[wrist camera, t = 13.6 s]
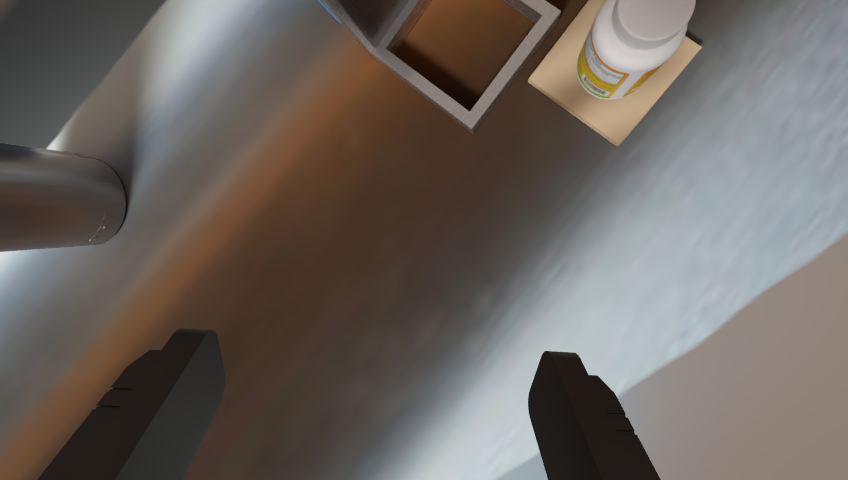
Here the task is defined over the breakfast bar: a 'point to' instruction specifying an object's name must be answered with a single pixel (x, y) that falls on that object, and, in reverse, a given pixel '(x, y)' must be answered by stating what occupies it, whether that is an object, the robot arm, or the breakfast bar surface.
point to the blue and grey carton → (329, 10)
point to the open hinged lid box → (394, 19)
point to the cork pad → (599, 114)
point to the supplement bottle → (630, 44)
